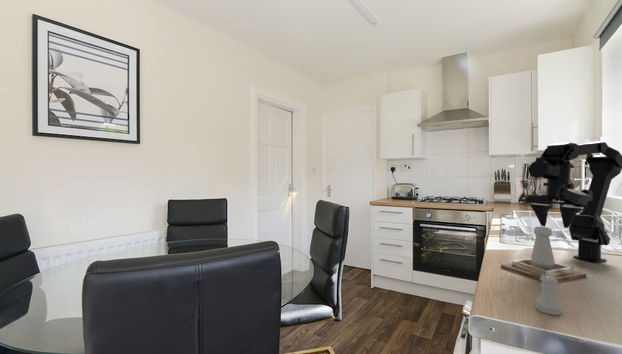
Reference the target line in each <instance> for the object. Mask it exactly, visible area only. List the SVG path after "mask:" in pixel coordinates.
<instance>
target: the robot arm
mask: <svg viewBox="0 0 622 354" xmlns="http://www.w3.org/2000/svg"><path fill="white" fill-rule="evenodd" d="M593 154H596V155H593ZM597 154H600V155H597ZM584 155H586V157H585V162H586V163H587V164H588V166H589V167H588V170H589V171H590V173H591V175H592V178H591V181H590V184H589V186H588V187H589V188H588V189H585V188H584V189H581V190H578V189H575V185H574V184H572V183H570V181H571V170H572V169H574V168H575V165H574V164H572V163H571V161H573V160H575V159H577V158H579V156H584ZM621 172H622V153H621V152H620V151H619V150H617V149H615V148H612V147H611V146H609V145H608V144H607V143H606V141H591V142H587V143H580V144H578V143H574V142H565V143H564V142H561V143H553V144H548V145H547V146H546V148H545V149H544V151H543V152H542V154H541V155H540V156H539V157H538V156H537V157H536V158H535V161H533V162H532V163H531V164H530V165H529V167H528V173H529V175H530V176H531V177H533V178H536V179H542V180H543V179H544V180H546V182H543V187H546V189H545V191H546V192H545V194H540V195H539V194H528V195H527V196H526V197H525V203H528V206H530V208H531V209H532V211H533V213H535V216H536V218H537V220H538V223H539V224H540V227H546V224H547V220H548V215H549V214H548V213H549V210H550V209H551V208H553V205H556V204H557V205H561V206H559V209H560V216H561V219H562V224H563V228H565V229H568V230H569V235H570V238H571V239H570V240H572V241H578V243H577V244H578V246H577V255H573V258H575V259H580V260H583V261H586V262H592V263H599V262H607V260H608V259H606V258H602V246H608V245H610V242H611V241H610V240H611V237H610V236H609V234H608V233H607V232H606V229H605V226H606V225H605V223H604V221H603V219H602V212H603V210H604V207H605V202H606V200H607V195H608V192H609V188H610V186H611V183H612V180H614V178H616V177H617V176H618V175H620V174H621ZM552 204H553V205H552Z"/></svg>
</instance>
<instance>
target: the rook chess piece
mask: <svg viewBox="0 0 622 354" xmlns="http://www.w3.org/2000/svg"><path fill="white" fill-rule="evenodd" d="M540 280H541V281H540V282H541V284H540V287H541V293H540V296H539V297H538V299H537V300H536V304H537V305H535V307H536V309H538V311H539V310H540V311H539V312H540V313H543V312H544V313H543V314H545V313H547V314H546V315H549V314H552V315H551V316H556V315H557V316H560V315H561V314H562V313H563V312H562V310H561V309H562V306H561V304H560V301H558V296H557V289H558V287H557V284H558V283H559V282H558V280H557V279H556V276H554V275H551V277H550V276H549V274H546V276H545V274H542V277H540Z"/></svg>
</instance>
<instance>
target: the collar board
mask: <svg viewBox="0 0 622 354" xmlns="http://www.w3.org/2000/svg"><path fill="white" fill-rule="evenodd" d="M500 267H501V269H504V270H506V271H510V272H511V273H512V272H513V273H515V274H519V275H522V276H524V277H528V278H531V279H533V280H536V281H540V282H542V281H541V280H540V277H542V274H545V276H546V274H549V276H550V277H551V275H554V276H556V279H557V280H558V283H559V282H565V281H566V282H567V281H572V280H577V279H585V278H587V273H585V272H580V271H577V270H574V267H571V266H567V265H564V264H560V263H556V262H555V264H554V266H553V268H552V270H547V271H546V270H544V269H541V268H537V267H534V266H533V265H532V262H531V257H530V258H523V259H515V260H512V261H511V262H510V263H505V264H504V263H503V264H500Z"/></svg>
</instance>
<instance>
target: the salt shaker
mask: <svg viewBox="0 0 622 354" xmlns="http://www.w3.org/2000/svg"><path fill="white" fill-rule="evenodd" d="M552 231H553V230H552V229H551V228H549V227H546V226H535V227H534V229H533V234H535V238H534V239H535V240H534V243H533V244H534V245H533V248H532V252H531V257H530V258H531V262H532V265H533V266H534V267H537V268H541V269H544V270H546V271H547V270H552V268H553V266H554V264H555V263H556V262H555V258H554V254H553V250H552V245H551V240H550V236H552V234H553V232H552Z"/></svg>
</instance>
